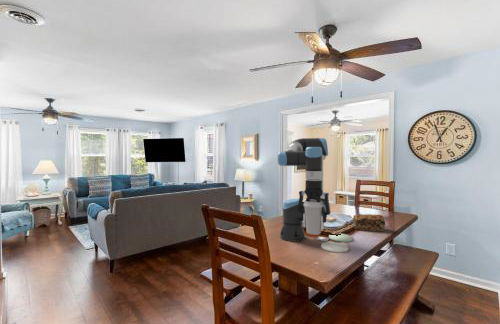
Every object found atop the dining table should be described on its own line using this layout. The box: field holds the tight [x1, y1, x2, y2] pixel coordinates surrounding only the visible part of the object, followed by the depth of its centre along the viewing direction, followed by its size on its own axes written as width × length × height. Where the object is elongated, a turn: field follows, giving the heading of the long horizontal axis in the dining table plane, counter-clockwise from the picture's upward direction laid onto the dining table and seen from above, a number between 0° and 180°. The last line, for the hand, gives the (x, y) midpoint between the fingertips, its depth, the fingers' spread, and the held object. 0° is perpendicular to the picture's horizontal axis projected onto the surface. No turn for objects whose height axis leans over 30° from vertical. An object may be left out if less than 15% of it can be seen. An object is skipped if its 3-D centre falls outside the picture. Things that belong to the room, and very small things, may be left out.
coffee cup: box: [303, 199, 324, 236], centre depth 117 cm, size 10×10×15 cm
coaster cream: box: [320, 241, 349, 254], centre depth 135 cm, size 14×14×1 cm
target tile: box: [314, 235, 331, 243], centre depth 148 cm, size 7×7×1 cm
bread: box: [352, 213, 386, 232], centre depth 170 cm, size 19×11×10 cm, turn 73°
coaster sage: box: [328, 233, 354, 243], centre depth 150 cm, size 14×14×1 cm
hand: (313, 227), depth 118 cm, fingers closed on coffee cup, 8 cm apart
